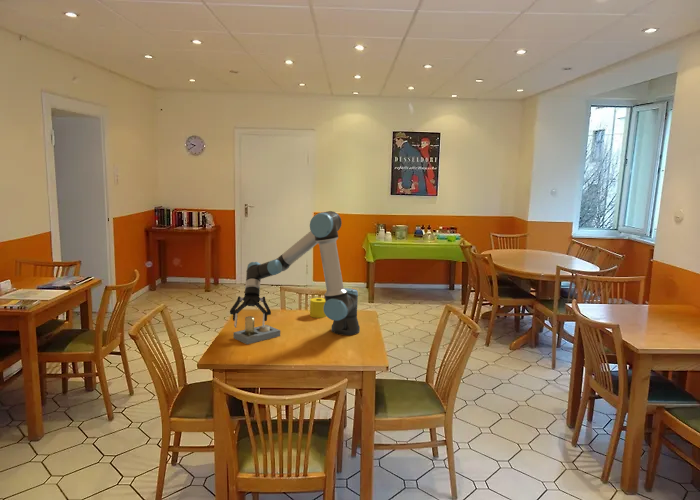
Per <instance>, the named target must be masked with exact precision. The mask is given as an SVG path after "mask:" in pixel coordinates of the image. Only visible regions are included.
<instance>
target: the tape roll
mask: <svg viewBox="0 0 700 500" xmlns="http://www.w3.org/2000/svg"><path fill="white" fill-rule="evenodd" d="M309 301H310V302H309V303H310V304H309V307H310V308H309V316H310V317H312V318H315V319H322V318H326V317H327V316H326V315H325V313H324V304H325V302H326V301H325V297H324V298H323V297H311V298H310V300H309ZM327 318H328V317H327Z"/></svg>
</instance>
